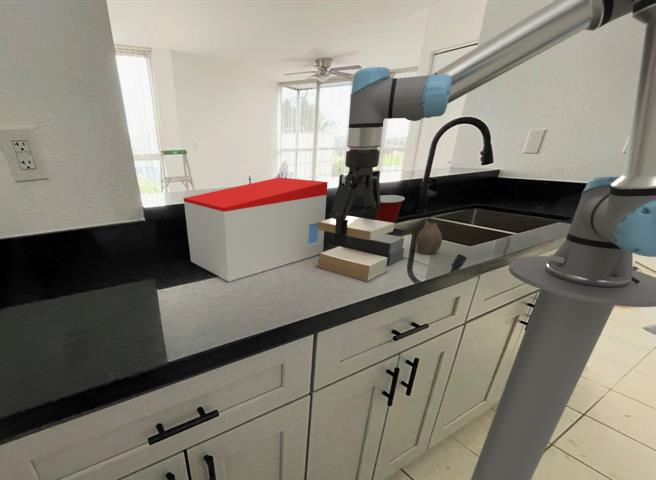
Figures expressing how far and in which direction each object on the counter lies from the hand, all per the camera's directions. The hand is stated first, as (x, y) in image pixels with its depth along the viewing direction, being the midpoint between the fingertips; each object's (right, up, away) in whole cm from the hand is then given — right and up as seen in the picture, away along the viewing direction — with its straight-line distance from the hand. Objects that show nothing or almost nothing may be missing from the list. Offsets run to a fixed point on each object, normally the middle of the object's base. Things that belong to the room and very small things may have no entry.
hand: (353, 240), depth 87 cm
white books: (0, -7, +3) cm, 8 cm away
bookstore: (-25, -3, +15) cm, 29 cm away
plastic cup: (+24, +11, +41) cm, 48 cm away
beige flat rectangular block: (0, +3, -1) cm, 3 cm away
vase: (+26, -1, +15) cm, 30 cm away
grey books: (+9, -2, +13) cm, 16 cm away
